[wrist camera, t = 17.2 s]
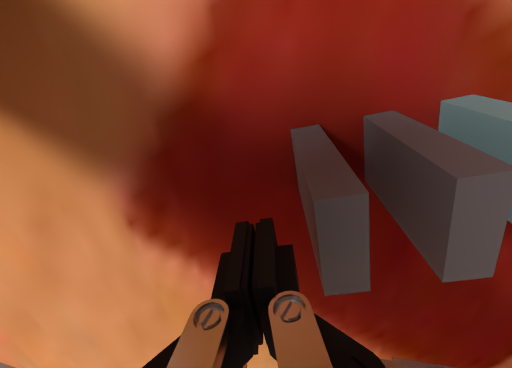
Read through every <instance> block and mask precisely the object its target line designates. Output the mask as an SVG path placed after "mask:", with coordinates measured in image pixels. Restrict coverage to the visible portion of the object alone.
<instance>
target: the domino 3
mask: <svg viewBox="0 0 512 368" xmlns="http://www.w3.org/2000/svg"><path fill="white" fill-rule="evenodd" d="M438 131H439V132H442V133H444V134H446V135H448V136H450V137H452V138H454V139H457V140H459V141H461V142H463V143H465V144H467V145H469V146H472V147H474V148H476V149H478V150H480V151H482V152H485V153H487V154H489V155H491V156H493V157H495V158H497V159H500V160H502V161H504V162H506V163H508V164H510V165H512V103H511V102H506V101H502V100H497V99H492V98H487V97H483V96H478V95H469V96H463V97H458V98H453V99H448V100H443V101H441V105H440V116H439V128H438ZM508 221H509V222H511V223H512V204H511V208H510V212H509V216H508Z"/></svg>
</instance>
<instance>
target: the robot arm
mask: <svg viewBox="0 0 512 368" xmlns="http://www.w3.org/2000/svg"><path fill="white" fill-rule="evenodd" d="M263 333H264V336H265V340H266V344H267V345H268V349H269V352H270V355H271V356H272V357H273V358H274V359H275V360H276V361H277V363H278V368H458V367H451V366H445V365H438V364H432V363H425V362H419V361H413V360H406V359H400V358H393V357H392V361H390V360H384V359H380V358H378V357H377V356H376V355H375V354H374V353H373V352H371V351H370V350H368V349H367V348H365V347H364V346H362V345H361V344H359V343H358V342H356V341H355V340H353V339H352V338H350V337H349V336H347V335H346V334H344V333H343V332H341V331H340V330H338V329H337V328H335V327H334V326H332V325H331V324H329V323H328V322H326V321H325V320H323V319H322V318H320V317H319V316H317V315H316V314H314V313H313V311H312V308H311V305H310V302H309V301H308V299H307V298H306V297H305V296H304V295H303V294H301V293H300V292H299V284H298V277H297V270H296V263H295V257H294V251H293V245H292V244H291V245H283V246H278V245H277V240H276V235H275V229H274V224H273V219H272V218H267V219H260V223H256V231H255V230H254V226H253V224H249V222H248V221H245V222H238V223H236V225H235V230H234V235H233V241H232V246H231V252H227V253H222V254H221V257H220V262H219V266H218V270H217V275H216V279H215V283H214V288H213V292H212V296H211V299H209V300H206V301H204V302H202V303H200V304H199V305H198V306H197V307H196V308H195V309H194V310H193V311H192V313H191V315H190V317H189V319H188V321H187V323H186V326H185V328H184V330H183V332H182V335H181V336H179V337H178V338H177V339H176V340H175V341H173V342H172V343H171V344H170V345H169V346H167V347H166V348H165V349H164V350H163V351H161V352H160V353H159V354H158V355H157V356H155V357H154V358H153V359H152V360H151V361H149V362H148V363H147V364H146V365H145V366H143V367H142V368H247V362H248V361H249V360H250V359H251V358H252V357H253V355H256V354H258V345H262V344H263Z"/></svg>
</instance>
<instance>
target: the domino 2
mask: <svg viewBox="0 0 512 368" xmlns="http://www.w3.org/2000/svg"><path fill="white" fill-rule="evenodd" d="M363 126H364V169H365V182H366V183H367V185H368V186H369V187H370V188H371V190H372V191H373V192H374V194H375V195H376V196H377V198H378V199H379V200H380V202H381V203H382V204H383V206H384V207H385V208H386V209H387V211H388V212H389V213H390V215H391V216H392V217H393V219H394V220H395V221H396V223H397V224H398V225H399V226H400V228H401V229H402V230H403V232H404V233H405V234H406V236H407V237H408V238H409V240H410V241H411V242H412V243H413V245H414V246H415V247H416V249H417V250H418V251H419V253H420V254H421V255H422V257H423V258H424V259H425V260H426V262H427V263H428V264H429V266H430V267H431V268H432V270H433V271H434V272H435V274H436V275H437V276H438V278H439V279H440V280H441V281H442V283H444V282H453V281H462V280H471V279H480V278H488V277H493V275H494V271H495V267H496V263H497V259H498V255H499V251H500V247H501V243H502V239H503V235H504V231H505V227H506V224H507V220H508V216H509V212H510V208H511V204H512V165H510V164H508V163H506V162H504V161H502V160H500V159H497V158H495V157H493V156H491V155H489V154H487V153H485V152H482V151H480V150H478V149H476V148H474V147H472V146H469V145H467V144H465V143H463V142H461V141H459V140H457V139H454V138H452V137H450V136H448V135H446V134H444V133H442V132H439V131H437V130H435V129H433V128H431V127H429V126H427V125H424V124H422V123H420V122H418V121H416V120H414V119H411V118H409V117H407V116H405V115H403V114H401V113H399V112H396V111H394V110H393V111H387V112H382V113H376V114H371V115H366V116H363Z"/></svg>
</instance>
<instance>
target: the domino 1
mask: <svg viewBox="0 0 512 368" xmlns="http://www.w3.org/2000/svg"><path fill="white" fill-rule="evenodd" d="M290 131H291V138H292V145H293V152H294V159H295V166H296V173H297V180H298V187H299V193H300V197H301V201H302V205H303V209H304V214H305V218H306V222H307V226H308V230H309V234H310V238H311V243H312V247H313V251H314V255H315V259H316V263H317V267H318V271H319V276H320V280H321V284H322V288H323V292H324V296H331V295H340V294H349V293H358V292H367V291H370V234H369V192H368V191H367V190H366V188H365V187H364V185H363V184H362V183H361V181H360V180H359V179H358V177H357V176H356V174H355V173H354V172H353V170H352V169H351V168H350V166H349V165H348V163H347V162H346V161H345V159H344V158H343V157H342V155H341V154H340V152H339V151H338V150H337V148H336V147H335V146H334V144H333V143H332V141H331V140H330V139H329V137H328V136H327V135H326V133H325V132H324V130H323V129H322V128H321V126H320V125H319V124H317V125H312V126H307V127H301V128H296V129H290Z"/></svg>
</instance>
